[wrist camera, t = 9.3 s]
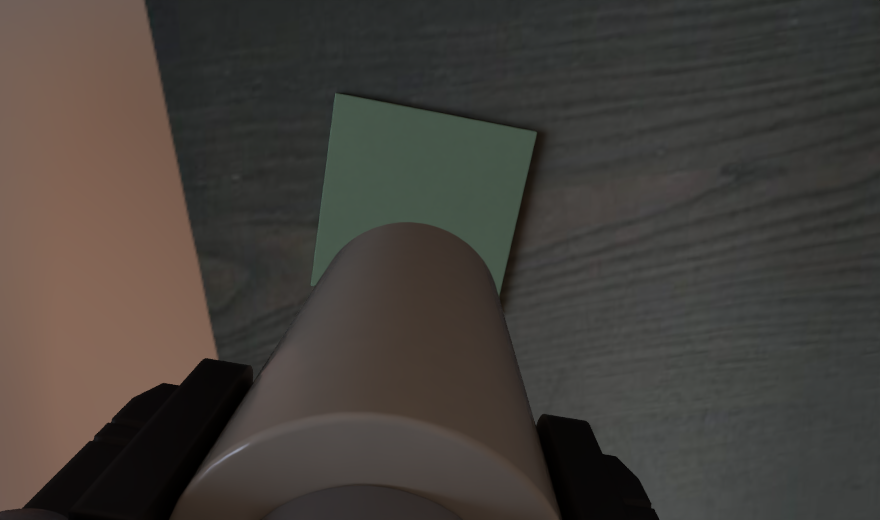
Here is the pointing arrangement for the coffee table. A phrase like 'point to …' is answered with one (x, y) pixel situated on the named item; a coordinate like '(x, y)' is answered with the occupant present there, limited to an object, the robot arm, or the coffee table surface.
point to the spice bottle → (384, 400)
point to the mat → (421, 177)
